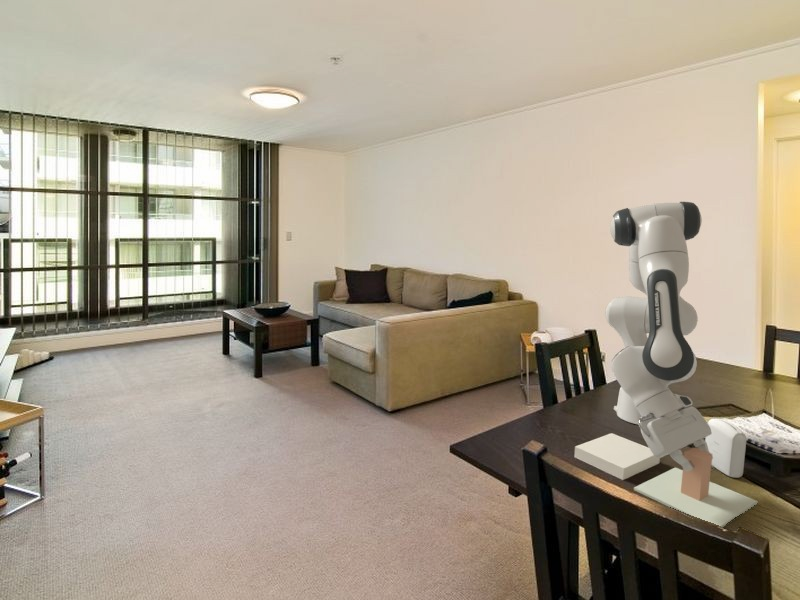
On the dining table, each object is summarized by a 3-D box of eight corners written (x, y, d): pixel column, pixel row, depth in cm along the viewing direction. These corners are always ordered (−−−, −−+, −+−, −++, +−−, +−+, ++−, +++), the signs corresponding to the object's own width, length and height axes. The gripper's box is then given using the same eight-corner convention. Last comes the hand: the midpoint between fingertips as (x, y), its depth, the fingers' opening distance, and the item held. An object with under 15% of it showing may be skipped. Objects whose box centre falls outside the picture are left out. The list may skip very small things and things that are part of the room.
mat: (675, 469, 121) (675, 467, 121) (757, 503, 106) (757, 501, 106) (633, 489, 112) (633, 487, 112) (717, 530, 97) (718, 527, 97)
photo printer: (700, 458, 127) (704, 414, 125) (716, 458, 127) (720, 414, 125) (728, 478, 117) (734, 430, 115) (745, 478, 117) (751, 430, 115)
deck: (610, 443, 136) (611, 433, 136) (659, 463, 125) (660, 452, 124) (574, 457, 128) (574, 446, 127) (622, 480, 116) (623, 468, 116)
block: (689, 487, 112) (693, 447, 110) (708, 495, 108) (712, 453, 107) (680, 492, 110) (684, 451, 108) (699, 500, 106) (703, 458, 105)
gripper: (645, 412, 106) (687, 472, 100) (693, 395, 117) (733, 448, 110) (625, 424, 111) (664, 483, 104) (673, 407, 122) (710, 459, 115)
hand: (700, 465), depth 107 cm, fingers open, 7 cm apart
